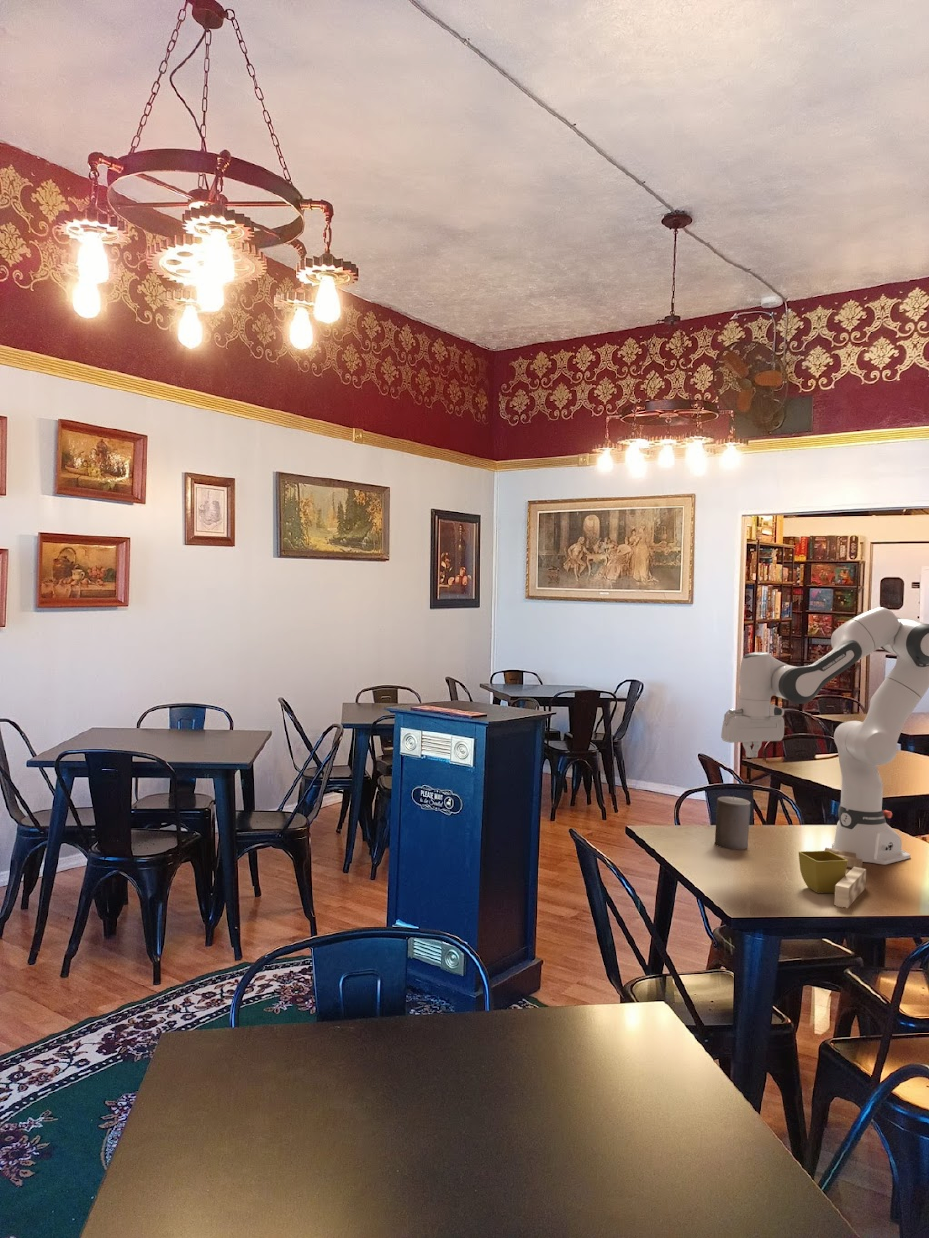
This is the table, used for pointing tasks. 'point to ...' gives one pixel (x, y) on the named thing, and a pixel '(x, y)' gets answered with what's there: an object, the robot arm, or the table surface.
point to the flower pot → (822, 870)
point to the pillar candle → (732, 823)
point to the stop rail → (850, 887)
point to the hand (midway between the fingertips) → (751, 757)
